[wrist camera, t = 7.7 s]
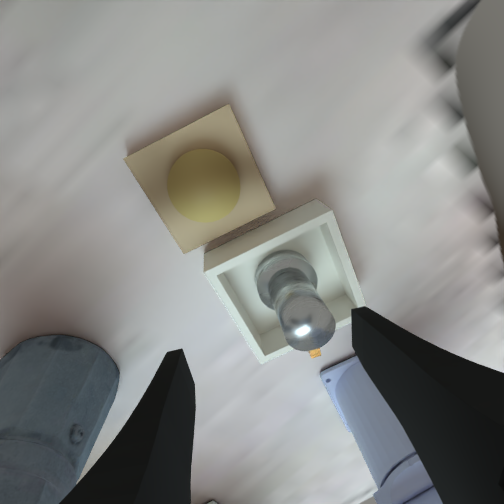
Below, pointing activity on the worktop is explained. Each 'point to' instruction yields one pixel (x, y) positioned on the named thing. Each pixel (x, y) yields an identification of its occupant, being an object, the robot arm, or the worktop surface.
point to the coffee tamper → (295, 300)
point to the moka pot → (51, 415)
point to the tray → (271, 240)
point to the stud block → (202, 180)
